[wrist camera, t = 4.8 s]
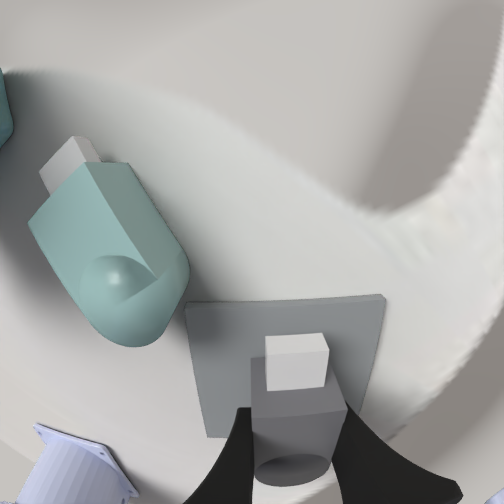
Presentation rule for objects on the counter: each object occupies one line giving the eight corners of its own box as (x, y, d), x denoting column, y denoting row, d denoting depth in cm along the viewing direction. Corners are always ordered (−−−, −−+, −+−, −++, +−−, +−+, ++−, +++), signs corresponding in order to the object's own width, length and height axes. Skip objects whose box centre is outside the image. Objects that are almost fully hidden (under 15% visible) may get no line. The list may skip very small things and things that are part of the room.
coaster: (352, 420, 15) (354, 427, 14) (208, 430, 15) (207, 437, 14) (380, 294, 13) (385, 299, 12) (186, 302, 12) (184, 308, 12)
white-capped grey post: (312, 432, 14) (323, 482, 10) (253, 437, 14) (254, 488, 10) (330, 319, 12) (357, 372, 8) (249, 323, 12) (250, 381, 8)
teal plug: (205, 281, 12) (189, 322, 9) (147, 315, 13) (119, 359, 9) (109, 130, 10) (62, 120, 7) (59, 177, 11) (9, 183, 7)
